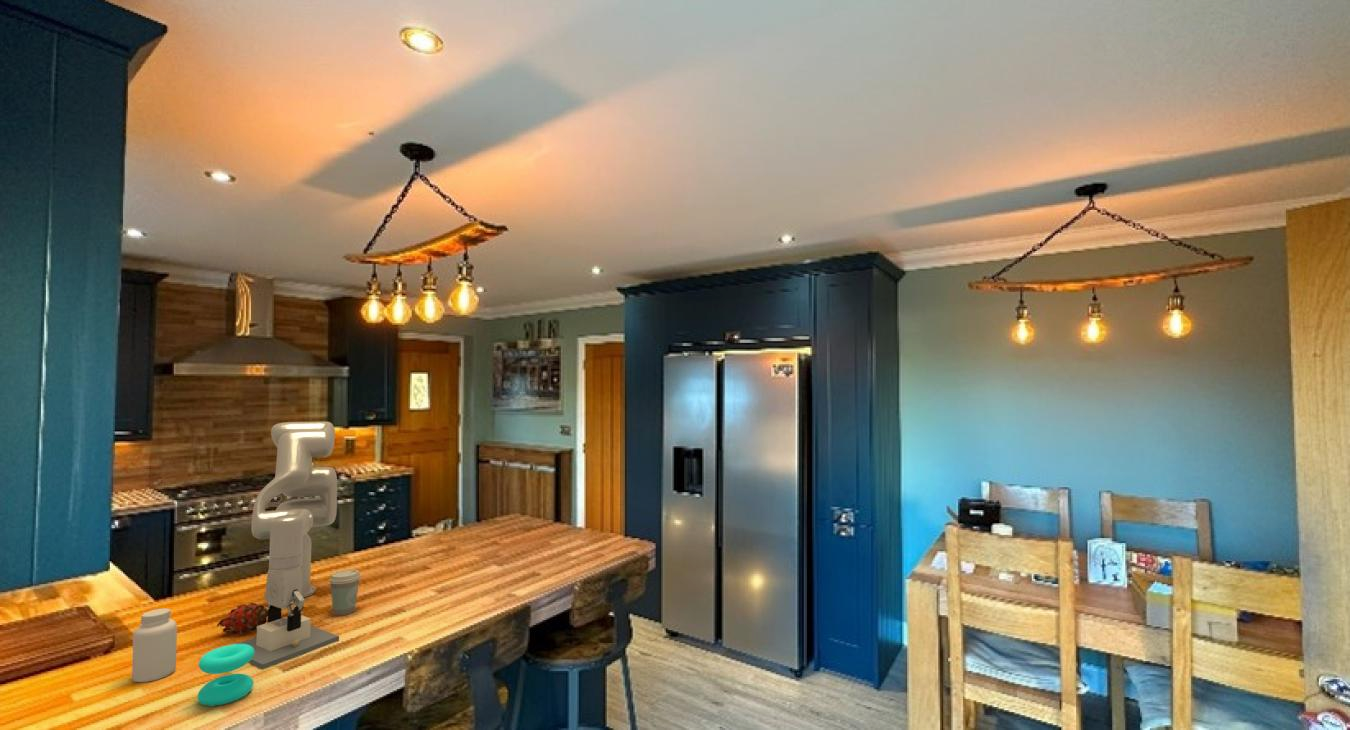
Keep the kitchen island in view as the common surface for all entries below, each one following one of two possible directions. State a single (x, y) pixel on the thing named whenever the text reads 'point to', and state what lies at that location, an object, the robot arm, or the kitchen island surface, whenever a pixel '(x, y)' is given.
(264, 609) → the dragon fruit
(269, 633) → the flange block
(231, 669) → the donuts
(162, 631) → the pill bottle
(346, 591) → the coffee cup
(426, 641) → the kitchen island surface
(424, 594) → the kitchen island surface
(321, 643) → the pin plate
